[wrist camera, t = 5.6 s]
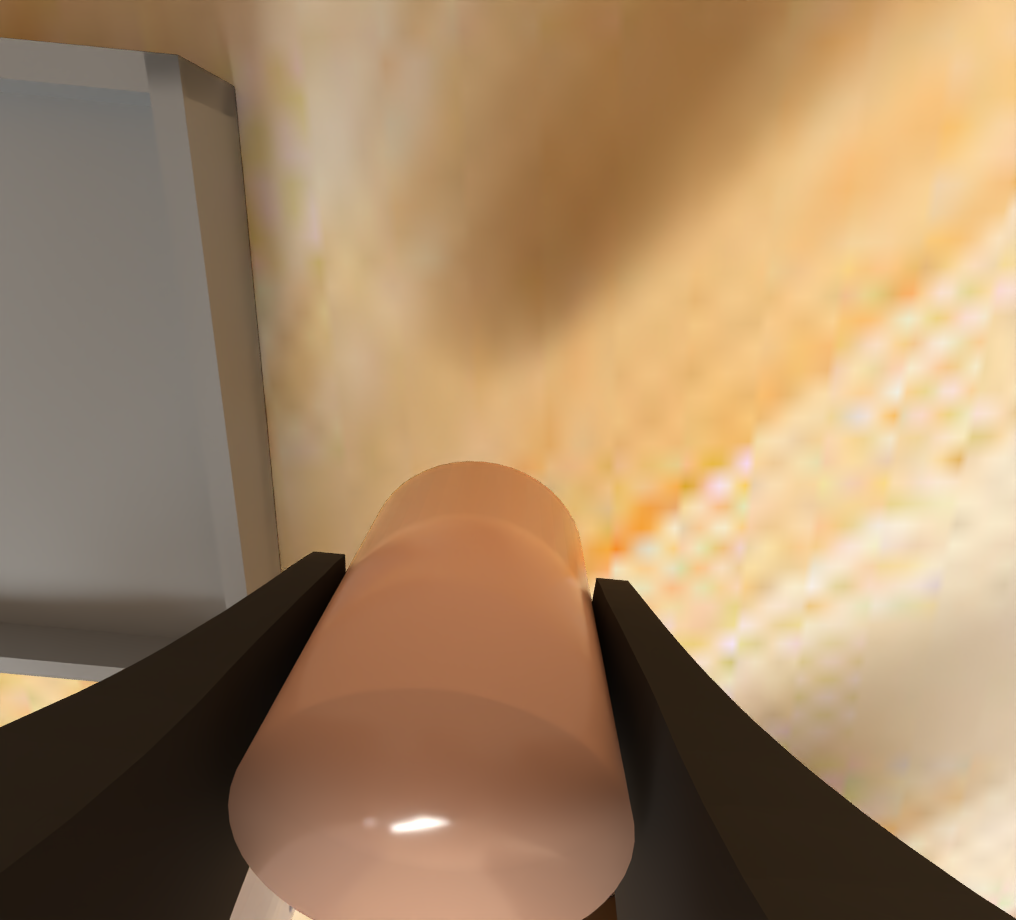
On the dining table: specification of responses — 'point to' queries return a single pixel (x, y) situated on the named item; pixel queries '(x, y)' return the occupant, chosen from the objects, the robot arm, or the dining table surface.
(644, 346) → the dining table surface
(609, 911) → the olive oil
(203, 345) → the tray
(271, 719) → the pink rounded cylinder
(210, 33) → the dining table surface
